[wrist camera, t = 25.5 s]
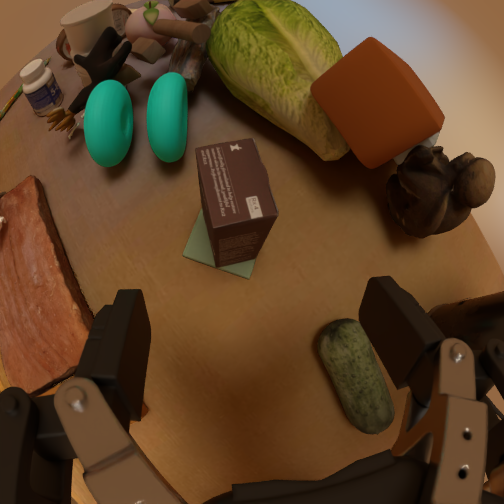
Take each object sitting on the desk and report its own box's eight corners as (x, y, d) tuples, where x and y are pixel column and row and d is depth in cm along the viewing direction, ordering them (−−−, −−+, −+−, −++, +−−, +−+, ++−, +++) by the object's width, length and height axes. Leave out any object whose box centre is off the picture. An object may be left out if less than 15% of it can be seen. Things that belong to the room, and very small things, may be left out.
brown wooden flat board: (66, 450, 20) (53, 459, 17) (-20, 233, 25) (-34, 225, 21) (150, 409, 23) (143, 418, 20) (43, 180, 28) (32, 167, 25)
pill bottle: (64, 106, 32) (45, 66, 23) (36, 122, 30) (14, 85, 22) (63, 88, 33) (46, 51, 24) (37, 103, 31) (17, 68, 23)
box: (199, 215, 29) (193, 144, 17) (242, 206, 30) (259, 134, 18) (212, 271, 28) (211, 228, 16) (257, 261, 28) (286, 213, 17)
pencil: (50, 58, 35) (-6, 125, 29) (48, 54, 34) (-8, 121, 28) (54, 58, 35) (-3, 125, 29) (52, 54, 34) (-5, 121, 28)
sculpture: (438, 167, 32) (516, 170, 18) (419, 239, 35) (493, 271, 20) (378, 137, 31) (454, 118, 17) (357, 217, 34) (427, 242, 19)
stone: (175, 25, 34) (205, -11, 26) (200, 34, 37) (233, 2, 29) (148, 105, 33) (175, 71, 25) (178, 114, 36) (213, 84, 28)
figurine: (148, 55, 28) (76, 138, 31) (112, 25, 23) (42, 111, 27) (139, 50, 20) (48, 165, 23) (91, 12, 15) (6, 131, 19)
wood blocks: (183, -4, 25) (230, -2, 21) (192, 7, 28) (239, 13, 24) (61, 133, 29) (78, 166, 25) (74, 139, 31) (94, 173, 27)
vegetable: (303, 333, 28) (321, 333, 23) (344, 311, 29) (367, 307, 24) (350, 439, 25) (371, 453, 20) (386, 414, 26) (411, 423, 21)
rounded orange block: (301, 84, 22) (372, 186, 23) (365, 30, 16) (450, 144, 17) (370, 89, 38) (410, 146, 38) (407, 63, 31) (449, 124, 32)
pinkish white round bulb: (126, 44, 36) (119, 1, 27) (169, 32, 38) (167, -11, 29) (133, 68, 35) (124, 19, 25) (182, 54, 36) (181, 5, 27)
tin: (130, 29, 38) (126, -4, 30) (137, 33, 38) (132, -1, 30) (62, 65, 34) (50, 33, 26) (66, 70, 34) (53, 37, 26)
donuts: (116, 120, 31) (97, 65, 22) (189, 114, 33) (187, 54, 23) (102, 184, 29) (69, 132, 19) (185, 178, 30) (177, 119, 21)
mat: (268, 218, 30) (269, 216, 30) (248, 279, 28) (249, 278, 28) (207, 197, 30) (207, 194, 30) (182, 256, 28) (182, 255, 28)
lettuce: (353, 157, 39) (260, 195, 37) (279, 30, 36) (188, 52, 34) (418, 126, 24) (300, 169, 22) (309, -29, 21) (190, -18, 19)
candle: (125, 101, 32) (102, 15, 18) (82, 108, 32) (50, 30, 17) (134, 72, 34) (120, -6, 20) (94, 79, 33) (72, 6, 19)
